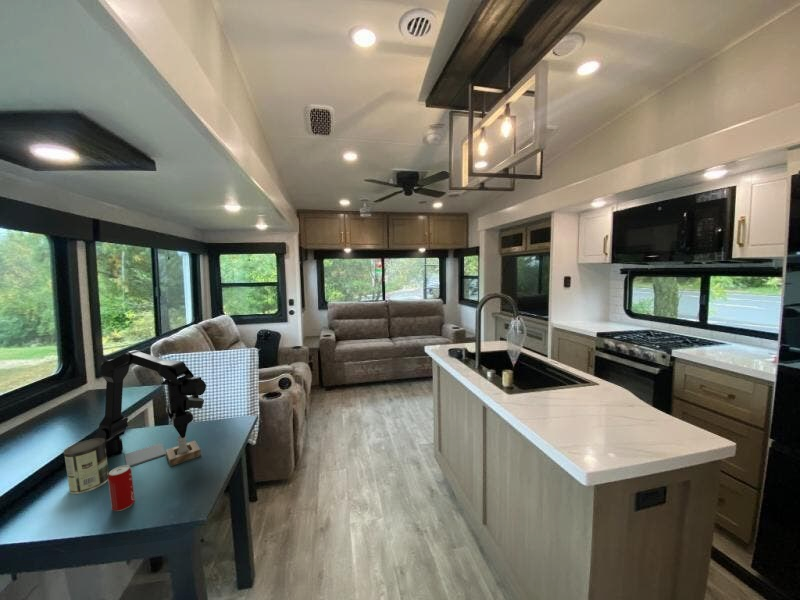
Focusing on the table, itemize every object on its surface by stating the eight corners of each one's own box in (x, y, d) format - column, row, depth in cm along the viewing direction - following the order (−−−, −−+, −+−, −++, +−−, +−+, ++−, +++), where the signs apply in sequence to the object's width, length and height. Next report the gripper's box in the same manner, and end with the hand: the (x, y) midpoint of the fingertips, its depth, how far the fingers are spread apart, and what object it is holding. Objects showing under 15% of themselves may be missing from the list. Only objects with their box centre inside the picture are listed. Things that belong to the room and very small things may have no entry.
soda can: (136, 505, 101) (132, 468, 100) (113, 515, 98) (108, 476, 96) (133, 497, 105) (129, 461, 104) (111, 506, 101) (106, 469, 100)
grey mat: (126, 468, 122) (126, 466, 122) (124, 455, 131) (124, 454, 131) (165, 455, 130) (165, 453, 130) (161, 444, 139) (161, 442, 139)
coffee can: (98, 473, 119) (93, 436, 118) (116, 477, 116) (112, 439, 115) (61, 491, 110) (55, 451, 108) (80, 497, 106) (75, 455, 105)
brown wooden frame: (170, 466, 122) (169, 460, 122) (166, 456, 129) (165, 449, 129) (201, 455, 129) (200, 449, 128) (195, 446, 136) (194, 440, 136)
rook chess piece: (181, 453, 131) (179, 434, 130) (192, 452, 131) (190, 433, 131) (174, 459, 126) (172, 439, 126) (186, 458, 127) (184, 438, 126)
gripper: (206, 395, 125) (210, 434, 127) (196, 384, 139) (199, 419, 140) (171, 403, 118) (175, 445, 119) (164, 391, 131) (167, 428, 133)
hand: (181, 433), depth 128 cm, fingers open, 9 cm apart
